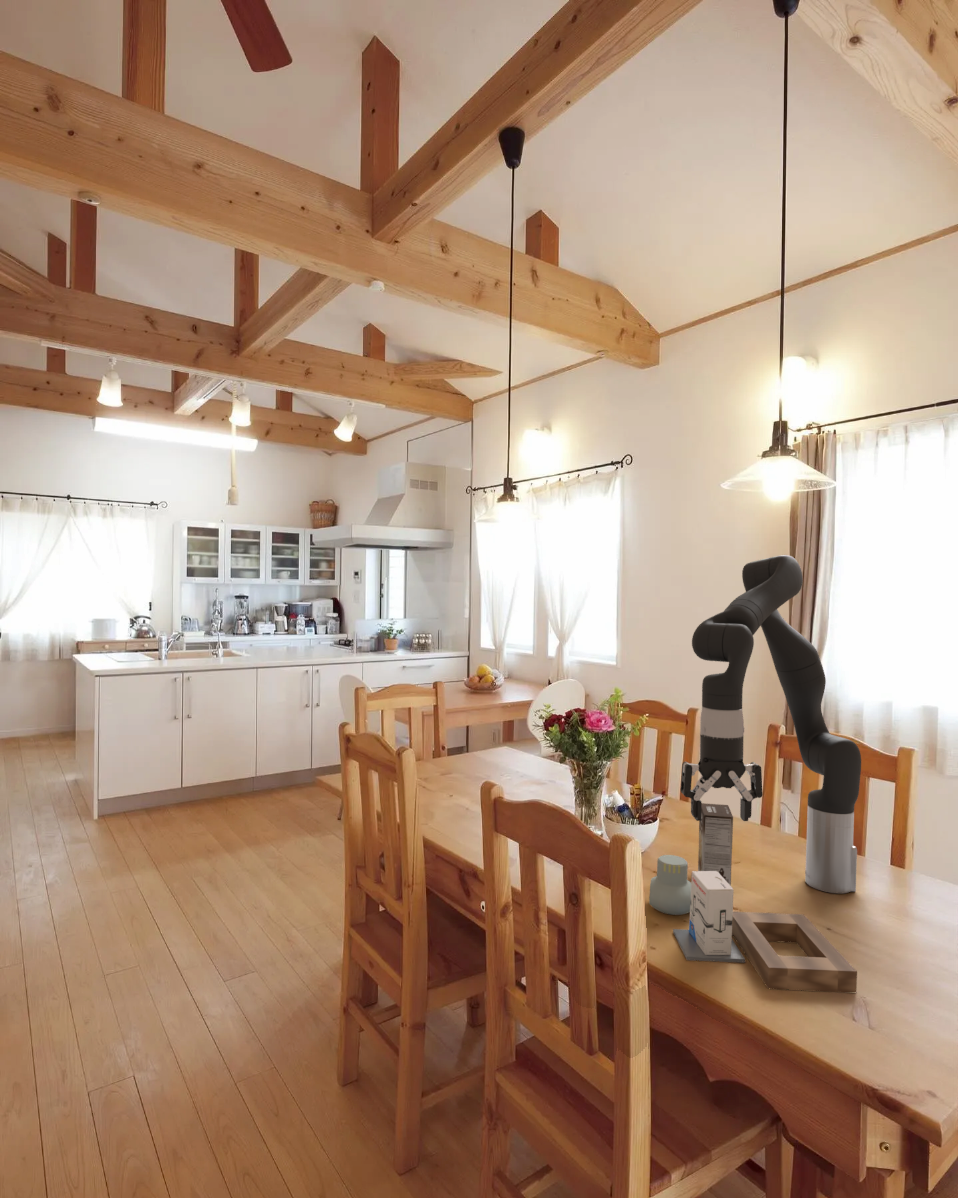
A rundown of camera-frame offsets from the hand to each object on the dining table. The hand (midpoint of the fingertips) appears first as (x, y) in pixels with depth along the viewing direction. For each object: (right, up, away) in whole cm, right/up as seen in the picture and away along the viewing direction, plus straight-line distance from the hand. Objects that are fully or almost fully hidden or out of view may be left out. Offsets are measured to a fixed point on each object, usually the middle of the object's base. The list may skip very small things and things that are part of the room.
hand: (720, 819), depth 129 cm
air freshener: (-6, -22, +13) cm, 26 cm away
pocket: (+10, -23, -6) cm, 25 cm away
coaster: (-3, -22, -2) cm, 23 cm away
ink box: (-3, -22, -2) cm, 22 cm away
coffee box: (+8, -22, +27) cm, 36 cm away
